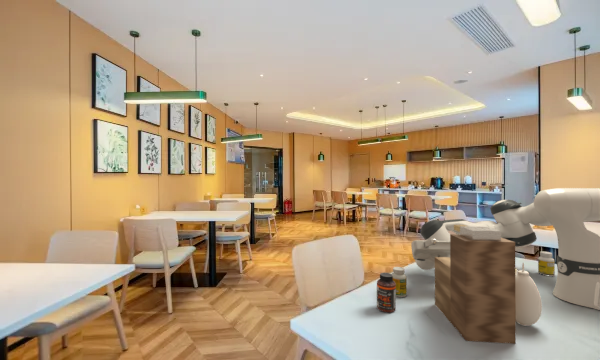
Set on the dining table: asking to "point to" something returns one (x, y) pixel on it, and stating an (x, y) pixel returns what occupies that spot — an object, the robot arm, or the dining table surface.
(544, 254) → the supplement bottle
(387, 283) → the supplement bottle
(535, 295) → the sauce bottle
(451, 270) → the stepped stand
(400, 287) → the supplement bottle
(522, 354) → the dining table surface
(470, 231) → the lever cap
